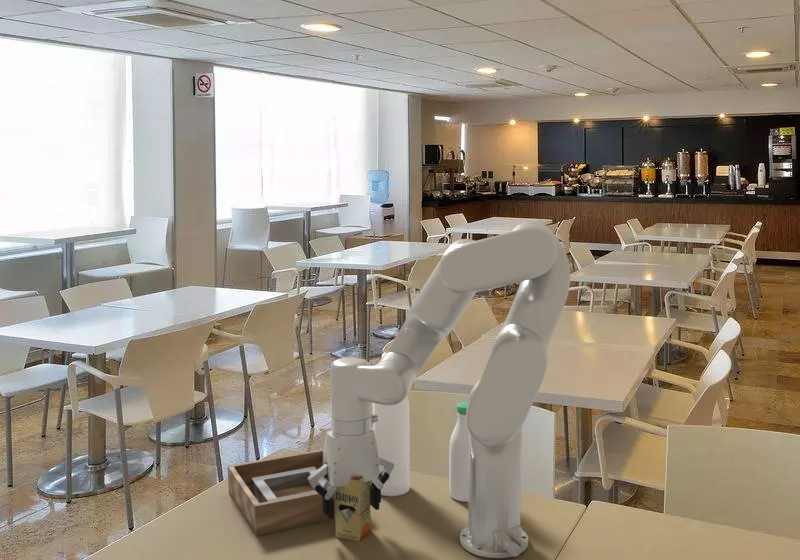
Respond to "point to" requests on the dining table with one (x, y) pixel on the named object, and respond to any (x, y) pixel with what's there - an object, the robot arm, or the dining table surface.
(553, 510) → the dining table surface
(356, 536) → the shoe polish box
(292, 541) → the dining table surface
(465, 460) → the milk bottle
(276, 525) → the walnut crate
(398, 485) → the bottle
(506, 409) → the robot arm
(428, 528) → the dining table surface
